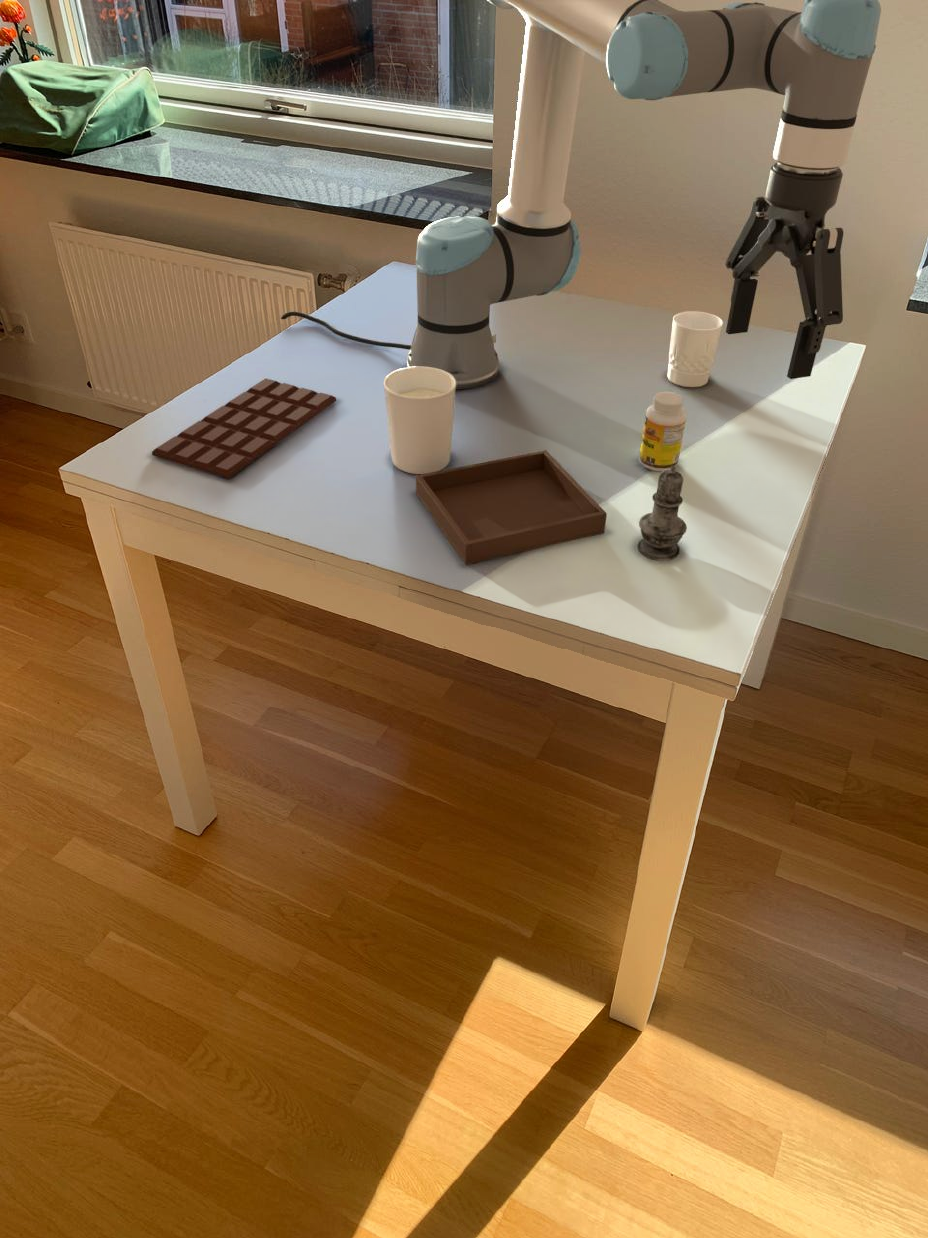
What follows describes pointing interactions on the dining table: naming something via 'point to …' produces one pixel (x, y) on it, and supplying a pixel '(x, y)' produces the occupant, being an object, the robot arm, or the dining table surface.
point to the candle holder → (420, 418)
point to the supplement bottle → (663, 432)
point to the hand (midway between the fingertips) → (766, 353)
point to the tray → (509, 506)
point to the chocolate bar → (244, 428)
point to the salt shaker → (663, 519)
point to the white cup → (693, 347)
